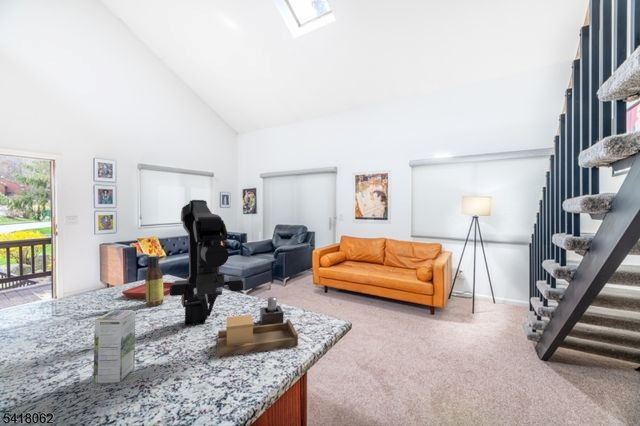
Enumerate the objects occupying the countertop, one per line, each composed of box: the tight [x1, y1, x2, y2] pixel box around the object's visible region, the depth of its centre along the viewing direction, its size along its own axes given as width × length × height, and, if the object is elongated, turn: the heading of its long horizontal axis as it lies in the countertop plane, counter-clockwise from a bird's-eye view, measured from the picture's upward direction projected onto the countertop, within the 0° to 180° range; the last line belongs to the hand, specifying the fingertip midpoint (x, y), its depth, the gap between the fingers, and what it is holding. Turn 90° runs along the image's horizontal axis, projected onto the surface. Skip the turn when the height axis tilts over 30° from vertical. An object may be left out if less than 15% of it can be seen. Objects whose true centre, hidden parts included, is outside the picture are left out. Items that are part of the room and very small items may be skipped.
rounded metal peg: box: [266, 296, 278, 313], centre depth 96 cm, size 3×3×7 cm
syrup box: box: [92, 309, 136, 384], centre depth 65 cm, size 6×6×14 cm
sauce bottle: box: [144, 254, 165, 307], centre depth 114 cm, size 7×6×20 cm
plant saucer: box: [121, 281, 174, 299], centre depth 129 cm, size 18×18×3 cm
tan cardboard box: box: [225, 314, 254, 346], centre depth 81 cm, size 7×7×6 cm
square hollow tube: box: [259, 305, 284, 326], centre depth 96 cm, size 7×7×4 cm
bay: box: [216, 318, 299, 358], centre depth 82 cm, size 22×12×3 cm, turn 108°
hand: (208, 316), depth 78 cm, fingers closed
